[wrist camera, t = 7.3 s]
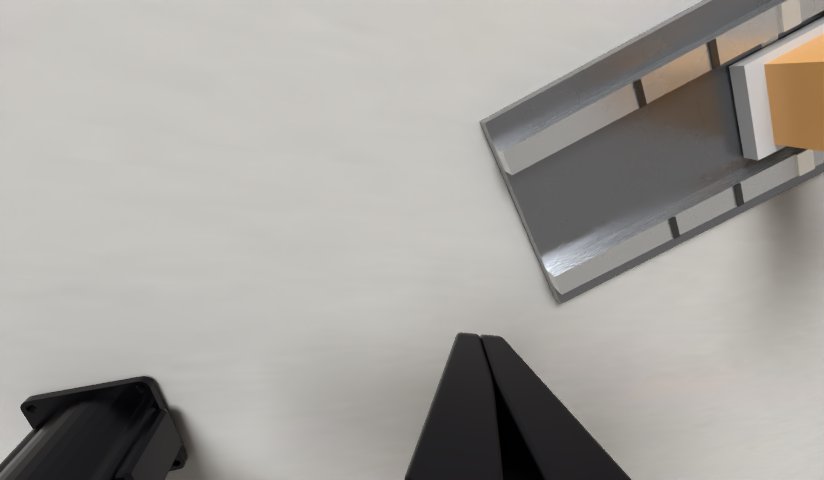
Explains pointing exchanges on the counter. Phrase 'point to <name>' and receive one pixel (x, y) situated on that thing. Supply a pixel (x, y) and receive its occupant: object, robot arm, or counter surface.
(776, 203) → the counter surface
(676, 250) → the counter surface
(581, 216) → the plate
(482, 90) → the counter surface
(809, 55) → the fader tab
